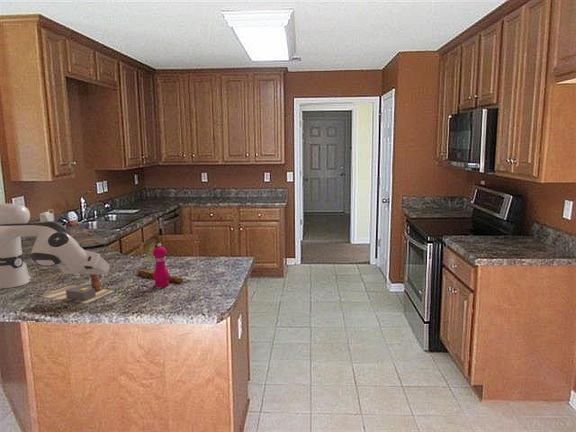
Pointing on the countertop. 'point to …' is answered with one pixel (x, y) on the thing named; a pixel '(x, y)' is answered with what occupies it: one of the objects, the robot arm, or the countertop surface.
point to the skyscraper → (47, 216)
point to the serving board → (89, 239)
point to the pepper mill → (160, 267)
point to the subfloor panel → (62, 296)
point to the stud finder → (80, 293)
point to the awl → (95, 282)
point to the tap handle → (150, 273)
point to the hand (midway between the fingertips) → (92, 275)
